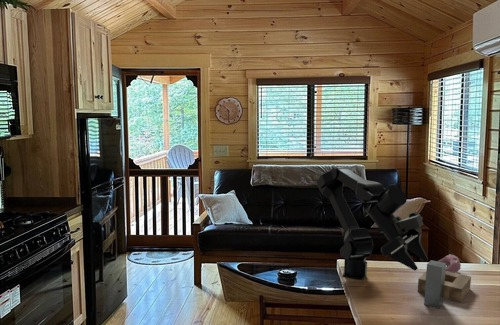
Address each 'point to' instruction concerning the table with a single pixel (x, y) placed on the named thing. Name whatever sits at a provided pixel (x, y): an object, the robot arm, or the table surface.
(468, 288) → the brown square wooden frame
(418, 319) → the table surface
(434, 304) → the grey rectangular block
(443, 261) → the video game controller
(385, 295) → the table surface
